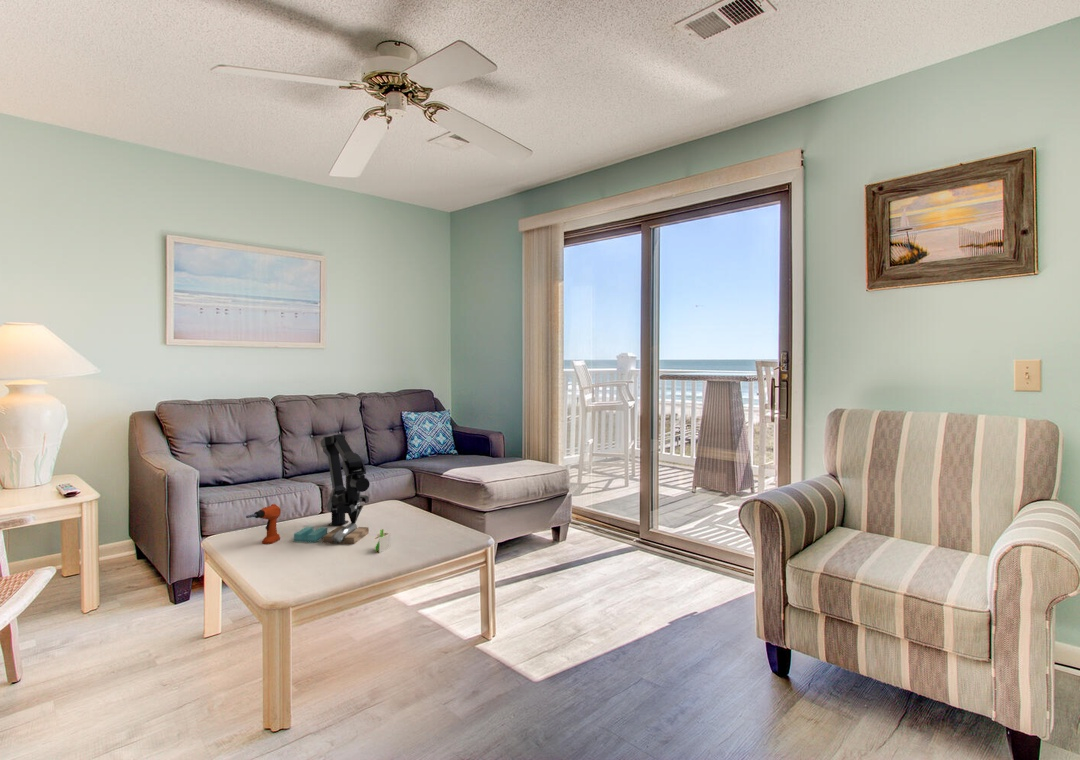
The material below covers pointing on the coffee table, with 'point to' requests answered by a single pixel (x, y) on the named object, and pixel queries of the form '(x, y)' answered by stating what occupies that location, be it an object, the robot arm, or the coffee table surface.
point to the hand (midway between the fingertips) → (353, 524)
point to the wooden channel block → (350, 538)
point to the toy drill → (269, 522)
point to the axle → (343, 532)
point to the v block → (310, 534)
